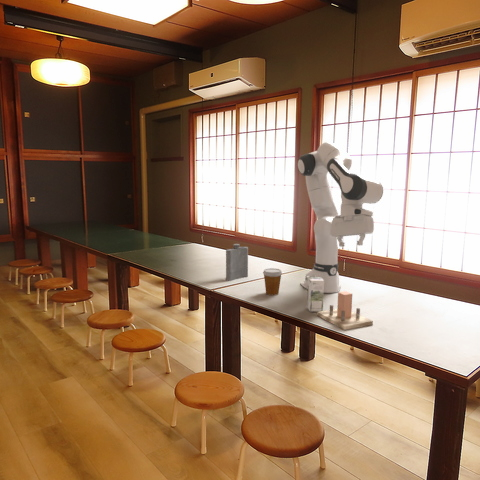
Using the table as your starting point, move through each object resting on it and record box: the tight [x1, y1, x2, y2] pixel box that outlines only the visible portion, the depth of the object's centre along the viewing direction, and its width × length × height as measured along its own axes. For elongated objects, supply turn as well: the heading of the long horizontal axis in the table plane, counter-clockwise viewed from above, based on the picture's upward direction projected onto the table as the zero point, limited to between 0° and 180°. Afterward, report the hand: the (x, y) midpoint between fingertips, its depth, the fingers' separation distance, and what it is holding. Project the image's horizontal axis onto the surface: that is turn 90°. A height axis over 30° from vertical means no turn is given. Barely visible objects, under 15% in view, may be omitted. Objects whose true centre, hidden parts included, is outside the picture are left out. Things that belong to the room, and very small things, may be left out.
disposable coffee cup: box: [262, 267, 283, 296], centre depth 204 cm, size 10×10×12 cm
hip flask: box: [225, 243, 249, 282], centre depth 233 cm, size 16×4×20 cm, turn 133°
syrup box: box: [307, 277, 325, 313], centre depth 179 cm, size 6×6×14 cm
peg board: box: [316, 304, 374, 331], centre depth 168 cm, size 18×14×6 cm
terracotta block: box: [336, 290, 353, 318], centre depth 167 cm, size 4×4×10 cm
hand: (350, 245), depth 170 cm, fingers open, 8 cm apart
